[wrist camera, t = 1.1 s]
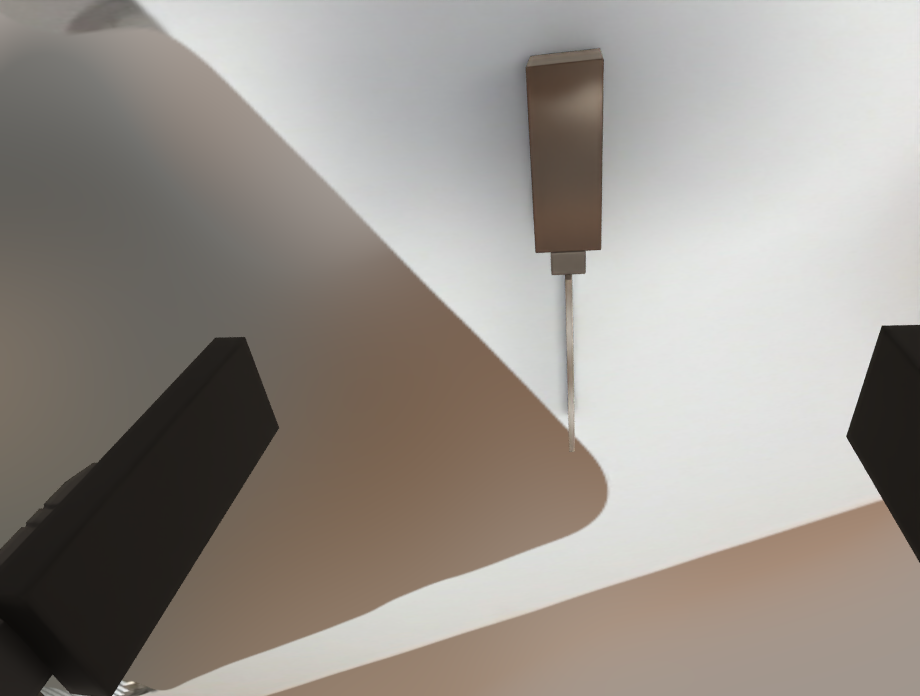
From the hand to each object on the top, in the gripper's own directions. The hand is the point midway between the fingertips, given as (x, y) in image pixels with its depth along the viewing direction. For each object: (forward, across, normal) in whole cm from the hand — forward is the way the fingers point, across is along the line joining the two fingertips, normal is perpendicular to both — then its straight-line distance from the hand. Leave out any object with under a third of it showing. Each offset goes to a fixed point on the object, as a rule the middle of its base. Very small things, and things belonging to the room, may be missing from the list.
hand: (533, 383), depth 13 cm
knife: (+18, +1, -6) cm, 19 cm away
